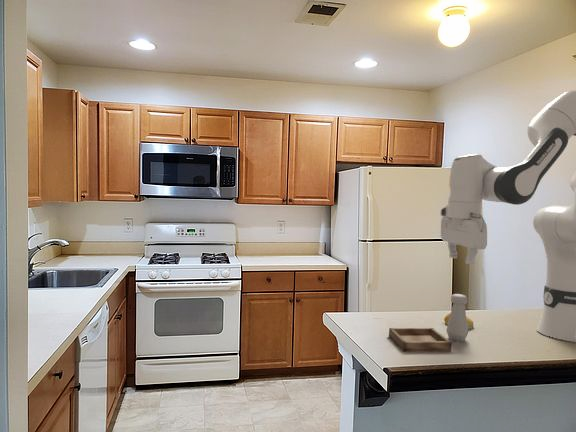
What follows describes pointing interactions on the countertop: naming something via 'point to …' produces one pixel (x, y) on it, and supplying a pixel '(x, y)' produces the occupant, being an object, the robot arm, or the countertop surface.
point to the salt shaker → (457, 319)
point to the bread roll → (469, 321)
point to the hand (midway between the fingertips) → (461, 260)
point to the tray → (419, 339)
